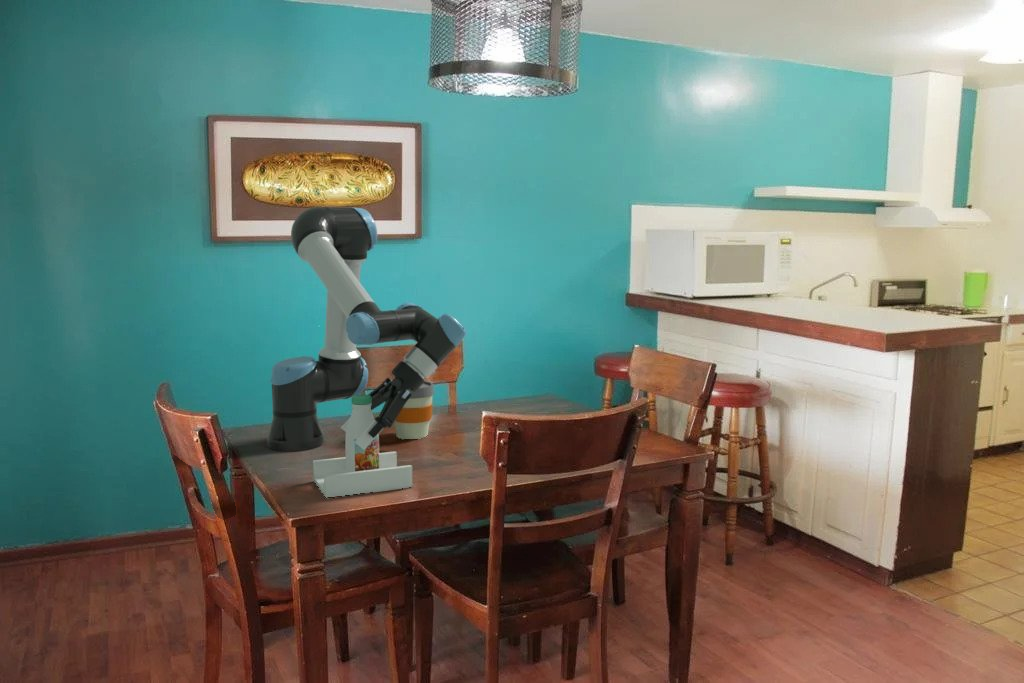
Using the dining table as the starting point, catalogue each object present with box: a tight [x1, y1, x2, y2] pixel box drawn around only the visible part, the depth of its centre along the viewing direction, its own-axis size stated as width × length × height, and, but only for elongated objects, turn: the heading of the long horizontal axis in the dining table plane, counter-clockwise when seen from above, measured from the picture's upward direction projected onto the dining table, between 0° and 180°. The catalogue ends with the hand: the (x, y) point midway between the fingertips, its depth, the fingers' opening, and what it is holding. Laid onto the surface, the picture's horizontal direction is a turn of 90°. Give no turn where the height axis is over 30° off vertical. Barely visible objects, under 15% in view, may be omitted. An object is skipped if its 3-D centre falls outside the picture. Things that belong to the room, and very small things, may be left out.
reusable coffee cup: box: [394, 380, 435, 440], centre depth 234 cm, size 12×12×15 cm
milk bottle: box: [344, 393, 380, 473], centre depth 191 cm, size 8×8×20 cm
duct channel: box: [312, 451, 413, 499], centre depth 192 cm, size 13×20×5 cm
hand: (351, 438), depth 190 cm, fingers open, 13 cm apart
